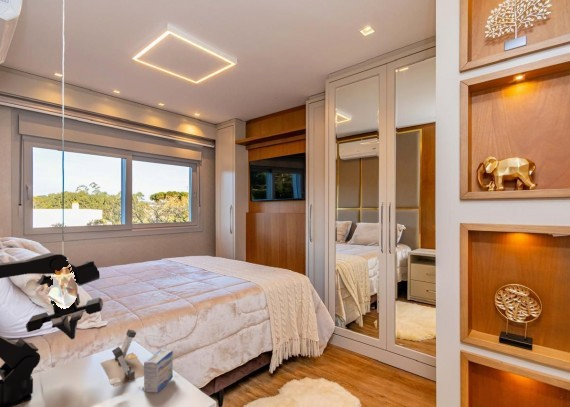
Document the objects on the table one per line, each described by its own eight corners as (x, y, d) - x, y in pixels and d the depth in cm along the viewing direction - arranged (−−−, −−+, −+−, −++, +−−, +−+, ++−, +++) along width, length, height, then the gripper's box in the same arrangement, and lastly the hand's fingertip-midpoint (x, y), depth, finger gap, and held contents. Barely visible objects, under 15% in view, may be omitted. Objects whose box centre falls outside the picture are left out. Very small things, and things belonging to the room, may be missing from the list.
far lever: (118, 360, 96) (130, 332, 99) (115, 357, 98) (128, 329, 101) (124, 361, 98) (136, 332, 100) (121, 357, 100) (133, 330, 102)
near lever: (127, 378, 87) (114, 354, 85) (124, 374, 89) (111, 350, 87) (133, 374, 89) (121, 349, 86) (130, 370, 91) (118, 346, 89)
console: (112, 392, 83) (112, 380, 83) (99, 367, 96) (99, 357, 97) (150, 377, 90) (150, 366, 91) (133, 356, 104) (133, 346, 104)
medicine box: (157, 393, 83) (157, 363, 83) (143, 391, 84) (143, 361, 84) (173, 378, 90) (173, 350, 91) (160, 376, 91) (160, 348, 92)
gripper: (99, 276, 100) (109, 317, 103) (32, 292, 92) (44, 337, 94) (95, 286, 90) (106, 332, 93) (19, 306, 82) (33, 355, 85)
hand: (73, 338), depth 91 cm, fingers closed
